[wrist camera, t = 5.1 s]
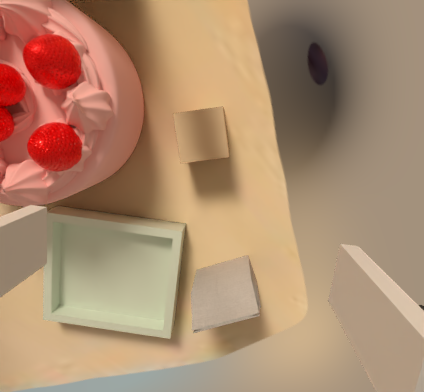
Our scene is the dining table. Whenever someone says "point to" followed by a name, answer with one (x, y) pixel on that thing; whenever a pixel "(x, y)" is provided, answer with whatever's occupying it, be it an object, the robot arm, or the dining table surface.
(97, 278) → the tray
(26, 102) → the cake
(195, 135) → the oak block
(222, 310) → the tea bag
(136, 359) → the dining table surface
